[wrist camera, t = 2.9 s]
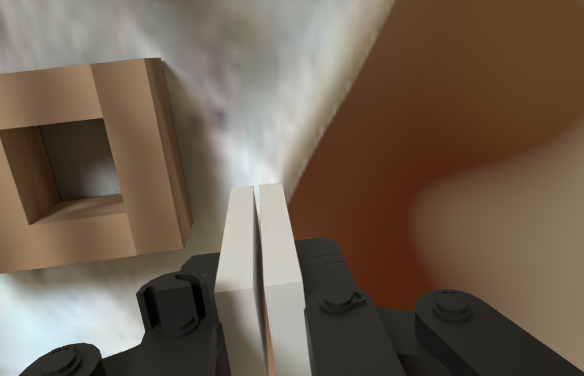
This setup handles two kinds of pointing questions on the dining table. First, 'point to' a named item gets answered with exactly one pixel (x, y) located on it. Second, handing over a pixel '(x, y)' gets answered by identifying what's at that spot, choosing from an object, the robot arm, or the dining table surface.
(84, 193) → the dining table surface
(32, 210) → the socket block
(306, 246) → the robot arm
